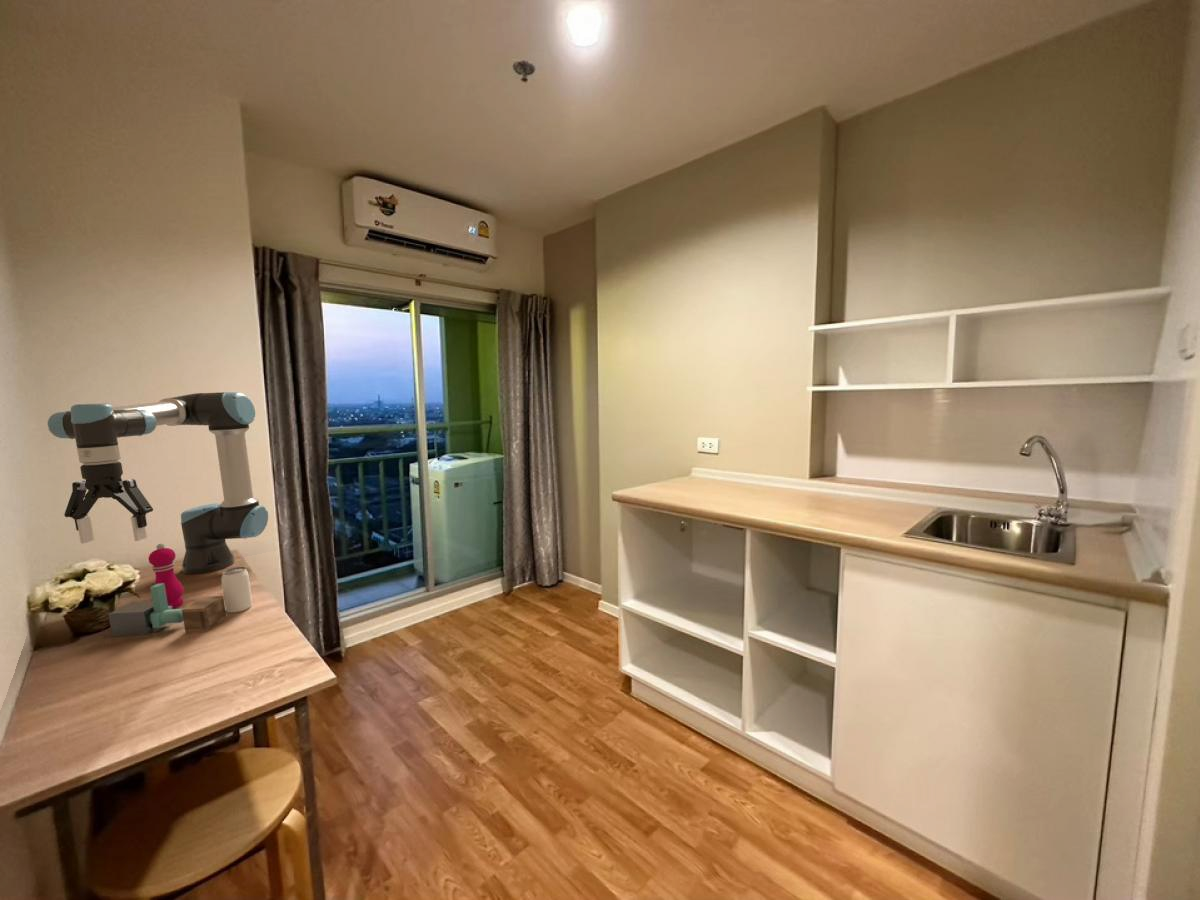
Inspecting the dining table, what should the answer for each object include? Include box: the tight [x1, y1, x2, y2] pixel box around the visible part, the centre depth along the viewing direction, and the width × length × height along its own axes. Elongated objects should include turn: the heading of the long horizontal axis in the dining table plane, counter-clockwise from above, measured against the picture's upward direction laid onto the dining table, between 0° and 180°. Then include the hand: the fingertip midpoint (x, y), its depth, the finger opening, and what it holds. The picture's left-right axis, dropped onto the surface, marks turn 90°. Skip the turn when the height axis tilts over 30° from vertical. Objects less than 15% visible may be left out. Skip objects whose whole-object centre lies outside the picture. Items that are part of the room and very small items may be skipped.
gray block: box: [108, 600, 159, 638], centre depth 131 cm, size 7×9×7 cm
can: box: [220, 566, 253, 614], centre depth 142 cm, size 6×6×12 cm
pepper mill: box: [148, 543, 185, 609], centre depth 144 cm, size 7×7×20 cm
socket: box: [181, 595, 227, 634], centre depth 132 cm, size 8×6×7 cm
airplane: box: [148, 583, 184, 629], centre depth 131 cm, size 16×5×11 cm, turn 94°
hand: (114, 540), depth 127 cm, fingers open, 13 cm apart
